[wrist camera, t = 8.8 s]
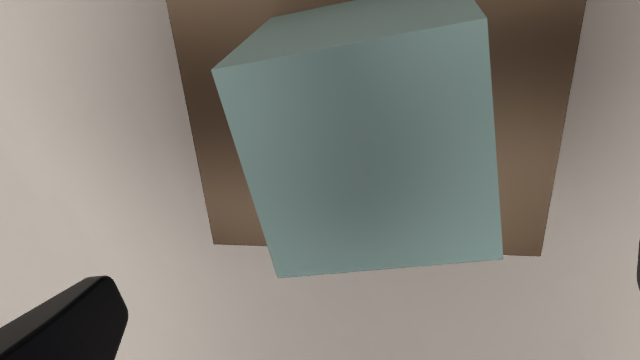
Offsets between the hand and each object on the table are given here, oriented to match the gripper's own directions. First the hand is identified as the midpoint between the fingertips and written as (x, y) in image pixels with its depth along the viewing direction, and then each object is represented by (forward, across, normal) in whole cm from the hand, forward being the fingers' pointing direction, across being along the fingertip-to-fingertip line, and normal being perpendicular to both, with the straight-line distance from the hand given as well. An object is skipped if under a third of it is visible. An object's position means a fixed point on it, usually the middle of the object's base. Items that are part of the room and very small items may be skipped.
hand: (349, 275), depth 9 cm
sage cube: (+7, 0, -1) cm, 7 cm away
